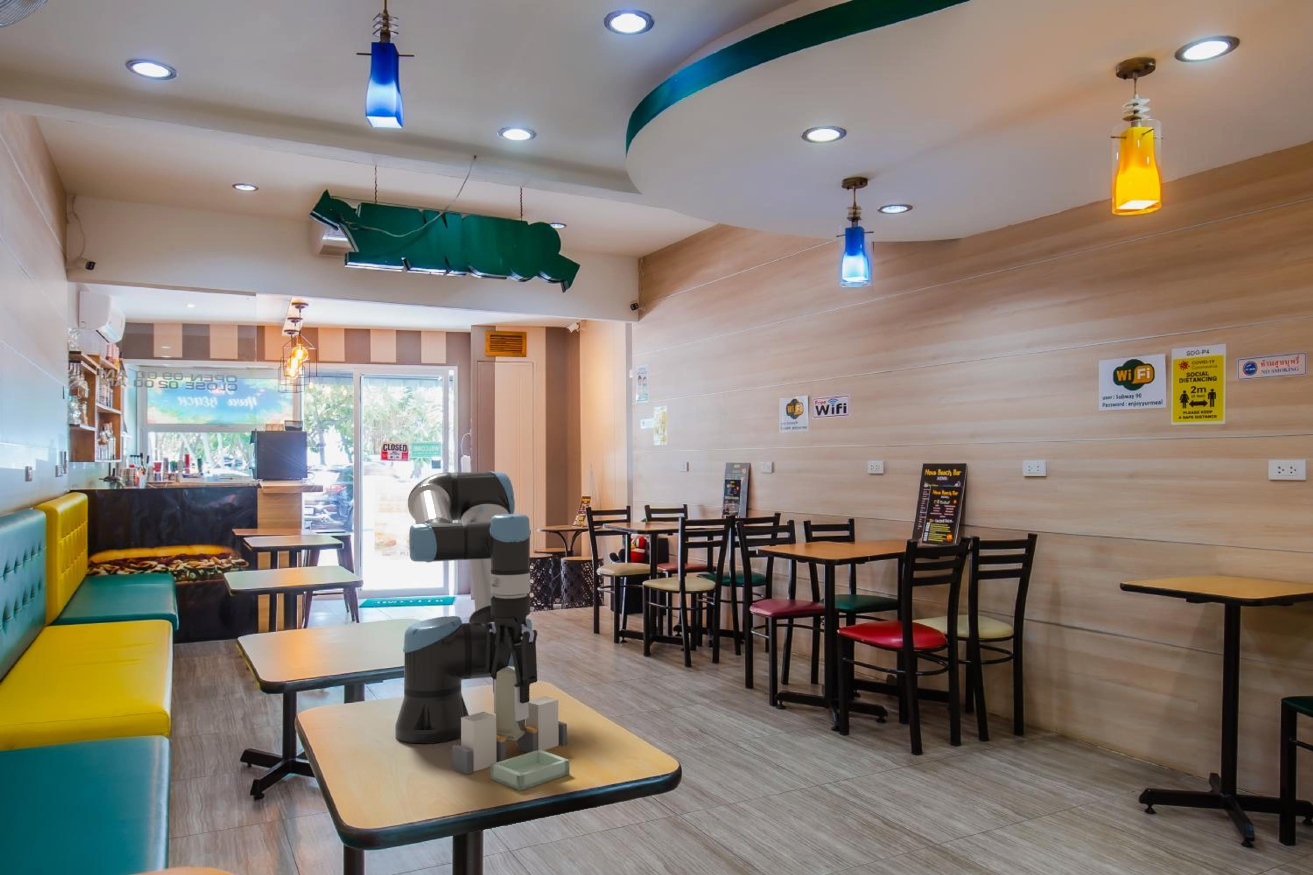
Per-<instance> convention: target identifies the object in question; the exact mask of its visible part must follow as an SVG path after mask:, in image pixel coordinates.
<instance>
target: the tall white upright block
mask: <svg viewBox="0 0 1313 875" xmlns="http://www.w3.org/2000/svg"><path fill="white" fill-rule="evenodd" d="M460 742H461V743H460V746H461V747H464V748H466V749H469V750H471V751H472V773H473V772H476V771H479V770H484V769H488V768H490V764H494V763H497V758H496V714H492V713H489V712H485V711H481V712H477V713H474V714H473V713H472V714H469V716H465V717H461V737H460Z"/></svg>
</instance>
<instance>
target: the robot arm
mask: <svg viewBox="0 0 1313 875" xmlns="http://www.w3.org/2000/svg"><path fill="white" fill-rule="evenodd" d="M514 495H515V494H514V488H513V485H512V482H511V479H510V477H509V476H508V474H506V473H505V472H502V471H501V472H500V471H499V472H498V471H492V470H491V471H490V470H488V471H486V472H485V471H484V472H471V471H469V472H457V471H455V472H445V471H444V472H441V473H436V474H433V475H431V476H427V477H426V478H424V479H422V480H421V481H420V482H418V483H417V484H416V485H415V486H414V487H413V488H412V490H410V493H409V495H408V497H407V508H408V512H409V514H410V516H411V517H412V518H413V520H414V521H415V524H412V525H410V526H409V533H408V536H409V539H408V545H409V546H408V547H409V550H408V551H409V557H410V561H413V562H421V563H422V562H425V563H432V562H448V561H449V562H451V561H466V560H467V561H468V560H469V561H470V567H471V577H472V578H471V579H472V589H473V599H474V600H473V601H474V611H473V612H472V613H471V614H470V616H469V619H468V622H464V623H463V620H462V618H461V617H460V616H457V615H449V616H445V615H444V616H437V617H433V618H432V617H431V618H429V619H425V620H421V621H418V622H415V623H413V624H411V625H410V626H409V627H407V628H406V630H405V633H404V641H403V648H402V652H403V653H404V654H403V655H404V657H403V658H404V660H403V661H404V666H403V667H404V672H403V690H404V691H403V700H402V702H401V706H400V710H399V711H398V712H399V713H398V716H397V718H396V719H397V720H396V723H395V728H394V730H395V731H394V732H395V738H396V739H397V740H399V741H401V742H405V743H410V744H411V743H412V744H432V743H433V744H435V743H442V742H448V741H451V740H455V739H458V738H461V717H465V716H469V715H470V714H469V712H468V708H467V705H466V702H465V699H464V697H463V693H462V681H463V680H474V679H486V678H488V679H489V678H492V684H493V685H492V688H493V689H492V692H493V713H494V715H496V684H497V672H498V671H500V670H501V669H503V668H505V667H507V666H510V667H514V668H515V673H516V679H517V684H514V697H515V721H520V720H523V719H525V720H526V719H527V718H529V706H528V702H529V700H531V699H530V686H531V685H532V684H534V683H537V682H538V666H537V664H538V661H537V645H536V644H537V638H538V637H537V636H538V631H537V629H533V623H532V620H531V619H530V618H527V616H529V615H530V614H531V596H530V595H529V593H530V592H531V568H530V566H531V564H530V563H531V559H530V558H531V557H530V556H531V554H530V553H531V534H532V532H531V528H530V518H529V516H528V515H526V514H520V513H515V507H516V506H515V505H516V504H515V503H516V502H515V497H514ZM454 521H460V522H454ZM522 678H523V679H522Z"/></svg>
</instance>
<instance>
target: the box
mask: <svg viewBox="0 0 1313 875" xmlns="http://www.w3.org/2000/svg"><path fill="white" fill-rule="evenodd" d="M522 679H523V678H522ZM514 684H517V679H516V673H515V668H514V667H510V666H507V667H505V668H503V669H501V670H500V671H498V672H497V684H496V714H495V716H496V735H499V736H502V737H505V738H506V741H512V742H517V739H519V738H520V737H521V736H523V735H524V734H525V725H526V719H523V720H520V721H515V697H514Z"/></svg>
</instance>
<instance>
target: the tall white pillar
mask: <svg viewBox="0 0 1313 875" xmlns="http://www.w3.org/2000/svg"><path fill="white" fill-rule="evenodd" d="M528 706H529V718H527V719H525V720H526V721H525V725H526V726H530V727H533V728H536V729H537V750H542V751H547V750H549V749H552V748H555V747H559V746H560V744H559V728H558V721H559V699H556V698H554V697H550V696H541V697H537V698H533V699H530V700H529V702H528Z"/></svg>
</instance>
